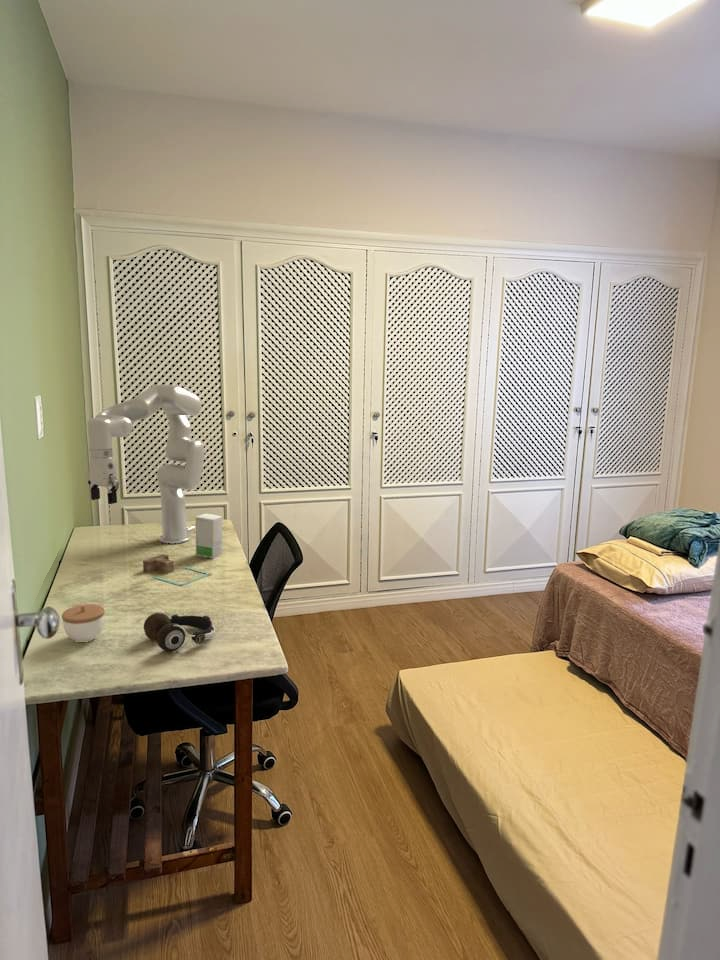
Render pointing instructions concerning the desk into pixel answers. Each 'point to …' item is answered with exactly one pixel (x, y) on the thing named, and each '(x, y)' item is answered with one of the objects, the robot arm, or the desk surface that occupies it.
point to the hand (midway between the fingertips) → (104, 501)
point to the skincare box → (208, 535)
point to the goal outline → (186, 582)
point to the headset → (176, 630)
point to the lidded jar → (83, 622)
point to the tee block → (158, 564)
